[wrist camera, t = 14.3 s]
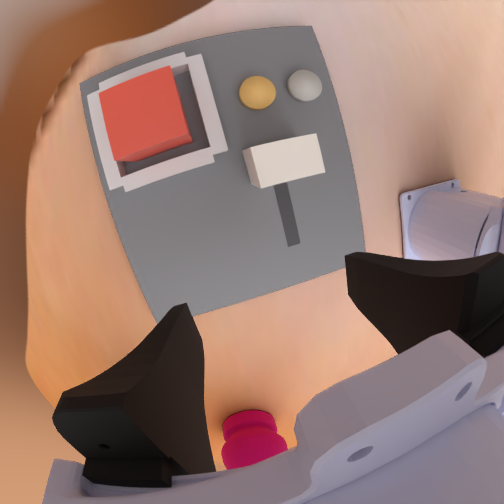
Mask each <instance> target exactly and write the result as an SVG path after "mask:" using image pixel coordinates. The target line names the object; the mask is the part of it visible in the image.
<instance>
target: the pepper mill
mask: <svg viewBox="0 0 504 504" xmlns="http://www.w3.org/2000/svg"><path fill="white" fill-rule="evenodd" d="M223 435H224V439H225V441H226V443H225V444H224V446H223V448H222V454H221V455H222V459H223V462H224V465H225V467H226V469H227V470H230V469H236V468H241V467H246V466H250V465H253V464H256V463H258V462H261V461H263V460H266V459H268V458H270V457H273V456H275V455H277V454H280V453H282V452H284V451H286V450H288V449H287V444H286V442H285V440H284V438H283V437H281V436H280V435H279V434H277V427H276V424H275V420H274V418H273V416H272V415H270V414H269V413H267V412H264V411H259V410H248V411H242V412H239V413H236V414H234V415H232V416H230V417H228V418H227V419H226V420H225V422H224V423H223Z"/></svg>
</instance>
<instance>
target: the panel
mask: <svg viewBox="0 0 504 504" xmlns="http://www.w3.org/2000/svg"><path fill="white" fill-rule="evenodd" d="M169 65H170V67H171V69H172V72H173V75H174V78H175V81H176V84H177V87H178V89H179V93H180V97H181V100H182V104H183V108H184V111H185V115H186V118H187V122H188V126H189V129H190V133H191V136H192V140H193V143H190V144H187V145H184V146H181V147H178V148H175V149H172V150H169V151H166V152H163V153H160V154H157V155H155V156H152V157H149V158H146V159H144V160H141V161H139V162H132V161H114V158H113V154H112V150H111V146H110V143H109V139H108V135H107V131H106V126H105V122H104V118H103V113H102V108H101V104H100V99H99V93H100V92H102V91H104V90H106V89H108V88H111V87H113V86H115V85H118V84H120V83H122V82H125V81H127V80H130V79H132V78H135V77H137V76H140V75H143V74H145V73H148V72H151V71H154V70H157V69H159V68H163V67H166V66H169ZM80 90H81V96H82V102H83V107H84V113H85V118H86V123H87V127H88V132H89V136H90V141H91V145H92V149H93V153H94V157H95V161H96V165H97V168H98V172H99V175H100V179H101V182H102V186H103V189H104V192H105V195H106V199H107V202H108V205H109V208H110V211H111V214H112V217H113V220H114V223H115V225H116V228H117V231H118V234H119V236H120V239H121V242H122V244H123V247H124V250H125V252H126V255H127V257H128V260H129V262H130V265H131V267H132V269H133V272H134V274H135V277H136V279H137V281H138V283H139V286H140V288H141V290H142V292H143V295H144V297H145V299H146V301H147V303H148V305H149V308H150V310H151V312H152V314H153V316H154V318H155V320H156V322H157V324H158V323H159V322H160V321H161V319H162V318H163V317H164V316H165V315H166V313H167V312H168V311H169V310H170V309H171V308H172V307H173V306H176V305H179V304H183V303H187V305H188V307H189V310H190V312H191V315H192V316H195V315H199V314H202V313H206V312H209V311H213V310H216V309H219V308H223V307H226V306H230V305H233V304H236V303H239V302H243V301H246V300H249V299H252V298H256V297H259V296H262V295H265V294H268V293H271V292H274V291H278V290H281V289H284V288H287V287H290V286H293V285H296V284H299V283H302V282H305V281H308V280H311V279H313V278H316V277H319V276H322V275H325V274H328V273H331V272H333V271H336V270H339V269H342V268H345V267H346V266H345V257H344V256H345V255H348V254H351V253H354V252H366V251H365V241H364V233H363V225H362V218H361V211H360V204H359V198H358V192H357V186H356V180H355V175H354V170H353V165H352V160H351V155H350V150H349V146H348V141H347V137H346V133H345V129H344V125H343V121H342V117H341V113H340V109H339V106H338V102H337V99H336V95H335V92H334V88H333V85H332V82H331V79H330V75H329V72H328V69H327V66H326V63H325V60H324V58H323V55H322V52H321V49H320V46H319V44H318V41H317V38H316V36H315V33H314V31H313V28H312V26H288V27H273V28H263V29H254V30H246V31H239V32H233V33H227V34H222V35H216V36H211V37H207V38H202V39H198V40H194V41H190V42H186V43H182V44H179V45H175V46H172V47H168V48H165V49H162V50H159V51H156V52H153V53H150V54H147V55H144V56H141V57H138V58H136V59H133V60H131V61H128V62H126V63H123V64H121V65H118V66H116V67H114V68H111V69H109V70H107V71H105V72H102V73H100V74H98V75H96V76H94V77H92V78H90V79H88V80H86V81H84V82H82V83H80ZM315 133H316V134H317V138H318V142H319V146H320V150H321V155H322V159H323V164H324V168H325V173H320V174H316V175H312V176H308V177H304V178H300V179H296V180H292V181H288V182H284V183H280V184H276V185H272V186H269V187H265V188H259V187H256V186H254V185H251V181H250V178H249V174H248V170H247V167H246V163H245V159H244V156H243V152H242V151H243V150H245V149H247V148H250V147H253V146H257V145H262V144H266V143H270V142H275V141H279V140H284V139H289V138H294V137H299V136H304V135H309V134H315Z"/></svg>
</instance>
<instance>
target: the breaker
mask: <svg viewBox="0 0 504 504" xmlns="http://www.w3.org/2000/svg"><path fill="white" fill-rule="evenodd" d="M242 152H243V156H244V159H245V163H246V167H247V170H248V174H249V178H250V181H251V185H254V186H256V187H259V188H265V187H269V186H272V185H276V184H280V183H284V182H288V181H292V180H296V179H300V178H304V177H308V176H312V175H316V174H320V173H325V168H324V164H323V159H322V155H321V150H320V146H319V142H318V138H317V134H316V133H315V134H309V135H304V136H299V137H294V138H289V139H284V140H279V141H275V142H270V143H266V144H262V145H257V146H253V147H250V148H247V149H245V150H243V151H242Z"/></svg>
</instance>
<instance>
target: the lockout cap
mask: <svg viewBox="0 0 504 504" xmlns="http://www.w3.org/2000/svg"><path fill="white" fill-rule="evenodd" d="M99 99H100V104H101V108H102V113H103V118H104V122H105V126H106V131H107V135H108V139H109V143H110V146H111V150H112V154H113V158H114V161H132V162H139V161H141V160H144V159H146V158H149V157H152V156H155V155H157V154H160V153H163V152H166V151H169V150H172V149H175V148H178V147H181V146H184V145H187V144H190V143H193V140H192V136H191V133H190V129H189V126H188V122H187V118H186V115H185V111H184V108H183V104H182V100H181V97H180V93H179V89H178V87H177V84H176V81H175V78H174V75H173V72H172V69H171V67H170V65H169V66H166V67H163V68H159V69H157V70H154V71H151V72H148V73H145V74H143V75H140V76H137V77H135V78H132V79H130V80H127V81H125V82H122V83H120V84H118V85H115V86H113V87H111V88H108V89H106V90H104V91H102V92H100V93H99Z"/></svg>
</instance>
